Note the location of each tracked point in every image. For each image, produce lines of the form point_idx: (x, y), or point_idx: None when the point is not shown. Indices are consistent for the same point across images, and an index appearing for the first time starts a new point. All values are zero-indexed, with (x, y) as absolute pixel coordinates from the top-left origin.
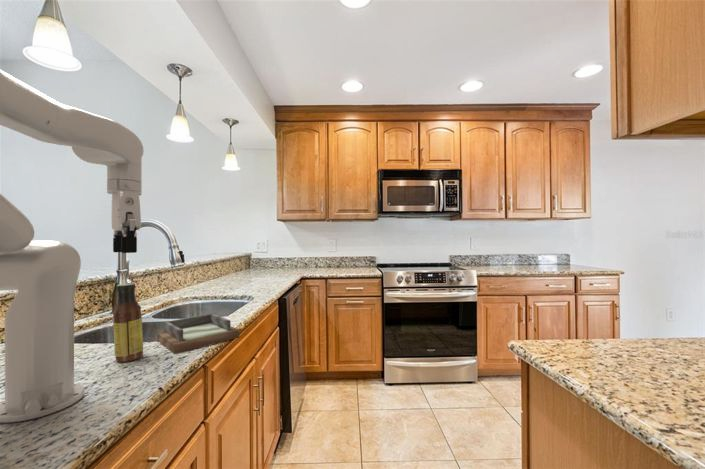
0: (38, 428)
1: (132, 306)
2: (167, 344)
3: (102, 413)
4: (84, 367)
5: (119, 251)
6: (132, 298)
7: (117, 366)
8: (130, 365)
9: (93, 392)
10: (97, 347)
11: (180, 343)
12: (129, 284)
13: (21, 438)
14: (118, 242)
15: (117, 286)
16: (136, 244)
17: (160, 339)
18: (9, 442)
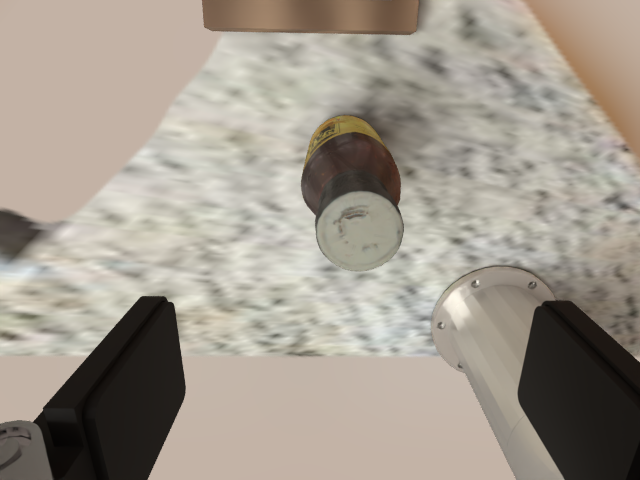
0: None
1: (394, 184)
2: (339, 31)
3: (632, 255)
4: None
5: (178, 359)
6: (385, 189)
7: None
8: (406, 161)
9: (514, 252)
10: (150, 194)
11: (417, 6)
12: (386, 222)
13: None
14: (143, 444)
15: (369, 269)
16: (618, 348)
17: (252, 30)
18: None
